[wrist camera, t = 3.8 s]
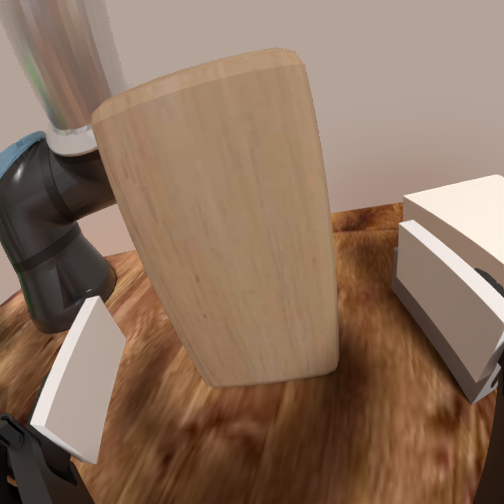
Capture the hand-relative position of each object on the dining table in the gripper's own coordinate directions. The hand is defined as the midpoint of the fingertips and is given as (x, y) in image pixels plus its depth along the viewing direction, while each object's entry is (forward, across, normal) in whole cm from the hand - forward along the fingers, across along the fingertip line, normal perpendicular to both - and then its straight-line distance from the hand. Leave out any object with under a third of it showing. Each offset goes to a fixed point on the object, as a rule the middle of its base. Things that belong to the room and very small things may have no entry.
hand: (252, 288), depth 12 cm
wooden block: (+7, 0, -11) cm, 13 cm away
